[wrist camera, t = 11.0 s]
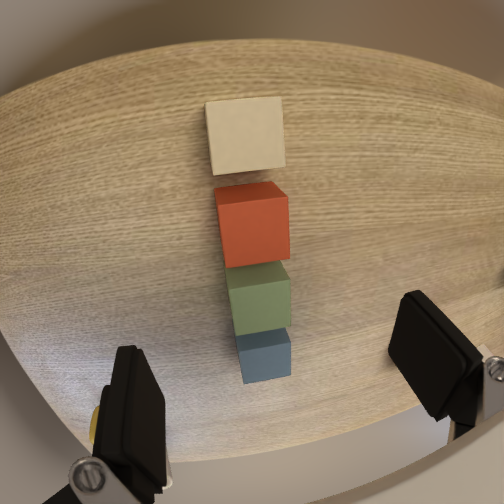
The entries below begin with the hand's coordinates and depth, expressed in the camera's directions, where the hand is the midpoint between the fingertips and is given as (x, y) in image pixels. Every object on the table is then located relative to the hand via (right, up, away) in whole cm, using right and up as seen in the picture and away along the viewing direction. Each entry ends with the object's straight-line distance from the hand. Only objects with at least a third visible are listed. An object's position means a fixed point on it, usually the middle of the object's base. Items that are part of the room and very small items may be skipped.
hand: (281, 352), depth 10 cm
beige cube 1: (-2, +13, +13) cm, 19 cm away
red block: (-1, +7, +17) cm, 18 cm away
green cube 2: (-1, +1, +20) cm, 20 cm away
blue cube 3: (0, -5, +23) cm, 23 cm away
